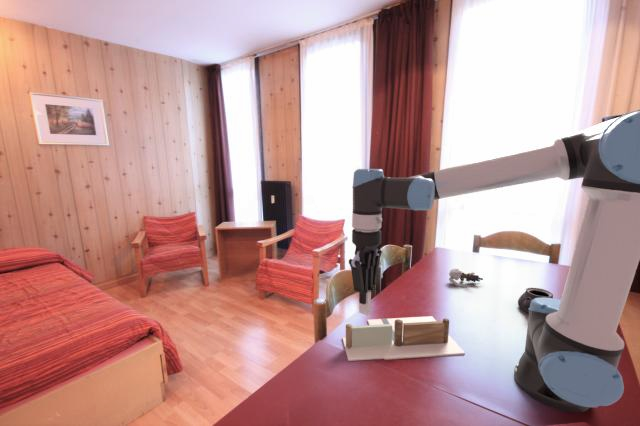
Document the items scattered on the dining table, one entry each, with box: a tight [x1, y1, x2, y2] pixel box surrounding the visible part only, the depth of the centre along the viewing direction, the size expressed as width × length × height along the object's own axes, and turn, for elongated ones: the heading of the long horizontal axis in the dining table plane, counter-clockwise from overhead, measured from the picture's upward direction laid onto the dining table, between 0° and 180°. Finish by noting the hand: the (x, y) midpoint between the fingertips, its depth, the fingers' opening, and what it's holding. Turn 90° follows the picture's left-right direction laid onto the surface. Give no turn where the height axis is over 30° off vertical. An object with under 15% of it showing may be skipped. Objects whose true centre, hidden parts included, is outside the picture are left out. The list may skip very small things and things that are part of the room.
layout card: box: [341, 315, 466, 362], centre depth 95 cm, size 21×34×1 cm, turn 95°
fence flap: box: [345, 323, 392, 348], centre depth 89 cm, size 14×2×7 cm, turn 95°
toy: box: [448, 268, 484, 288], centre depth 134 cm, size 11×8×15 cm
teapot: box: [517, 287, 554, 313], centre depth 106 cm, size 19×15×10 cm
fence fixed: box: [394, 318, 450, 347], centre depth 91 cm, size 2×17×8 cm, turn 95°
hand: (364, 312), depth 80 cm, fingers closed
